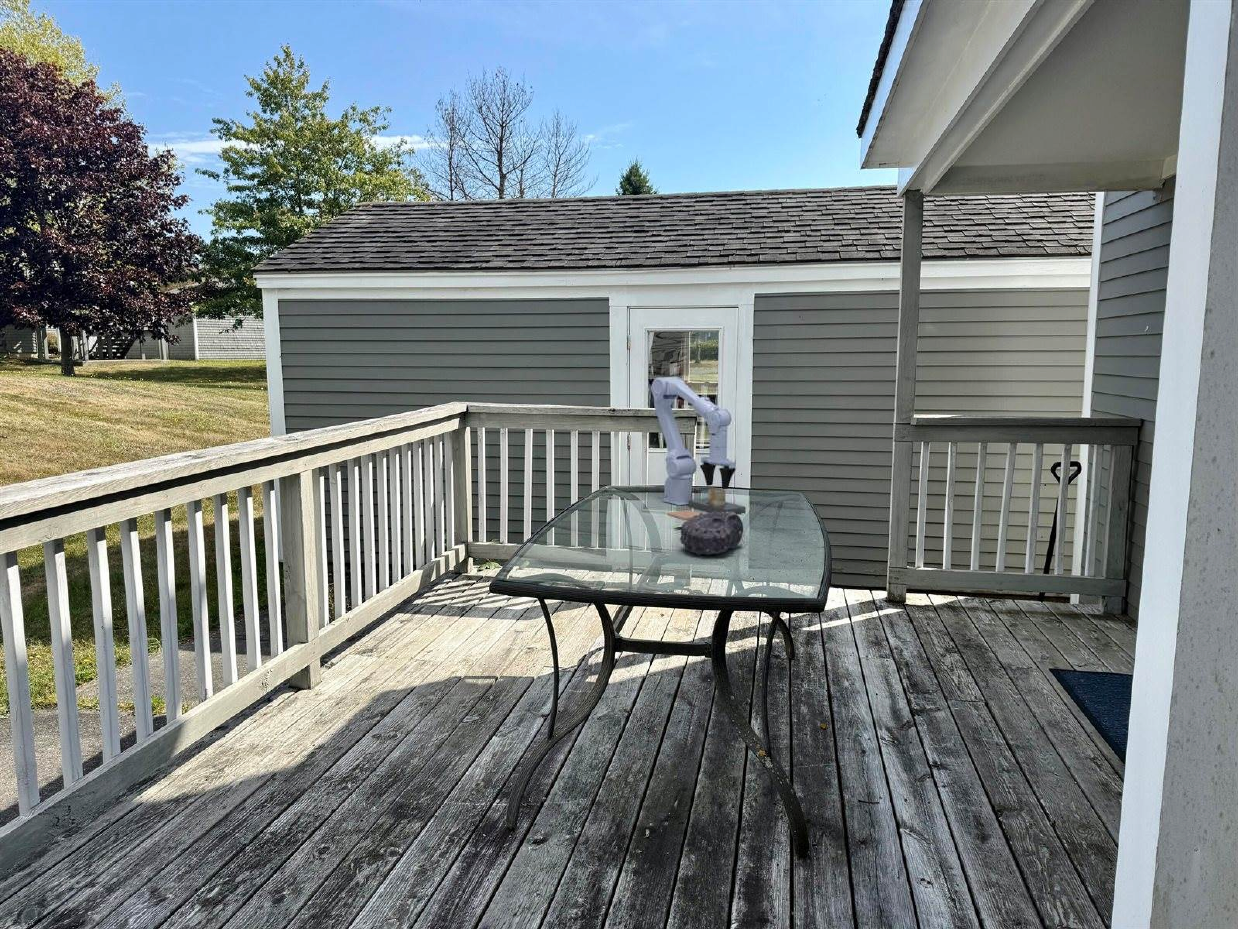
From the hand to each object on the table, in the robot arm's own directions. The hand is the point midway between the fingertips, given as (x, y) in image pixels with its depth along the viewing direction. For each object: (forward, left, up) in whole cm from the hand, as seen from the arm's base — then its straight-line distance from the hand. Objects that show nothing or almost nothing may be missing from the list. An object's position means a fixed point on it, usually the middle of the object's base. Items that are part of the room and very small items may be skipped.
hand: (717, 487), depth 283 cm
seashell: (+38, -36, -8) cm, 53 cm away
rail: (0, 0, -8) cm, 8 cm away
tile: (+1, -14, -8) cm, 16 cm away
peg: (0, 0, -8) cm, 8 cm away
